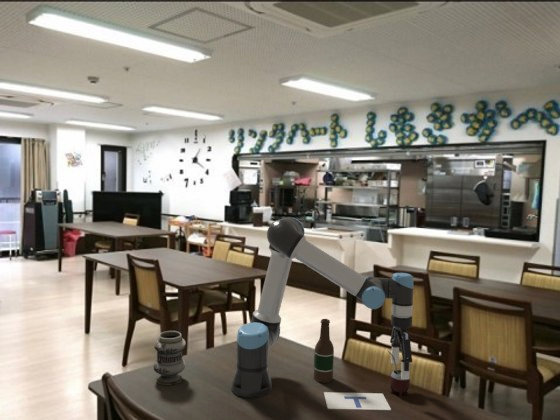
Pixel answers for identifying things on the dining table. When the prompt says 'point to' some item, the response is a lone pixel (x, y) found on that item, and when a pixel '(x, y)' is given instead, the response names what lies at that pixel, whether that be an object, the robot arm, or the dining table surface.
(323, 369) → the beer bottle
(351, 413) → the dining table surface
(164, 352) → the apothecary jar
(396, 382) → the mate gourd
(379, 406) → the letter card
